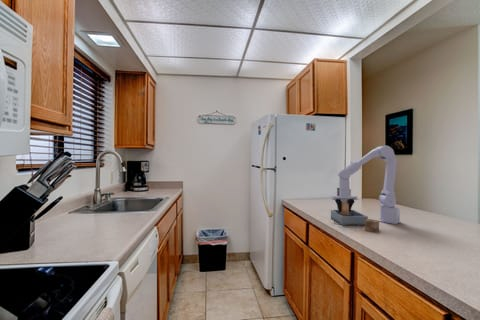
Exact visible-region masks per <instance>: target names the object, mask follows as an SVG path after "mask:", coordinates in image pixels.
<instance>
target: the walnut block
mask: <svg viewBox="0 0 480 320" xmlns="http://www.w3.org/2000/svg"><path fill="white" fill-rule="evenodd" d="M364 231H367V232H372V233H377V232H379V231H380V221H378V220H376V219H372V218H371V219H370V218H368V220H365V226H364Z"/></svg>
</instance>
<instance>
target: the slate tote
mask: <svg viewBox="0 0 480 320" xmlns="http://www.w3.org/2000/svg"><path fill="white" fill-rule="evenodd" d="M330 218H331V219H332V220H333V221H335V222H336V223H338V224H339V225H340V226H343V227H346V226H347V227H349V226H351V227H352V226H353V227H354V226H355V227H356V226H360V227H362V226H363V227H365V220H368V219H369V217H368V216H367V215H365V214H363V213H361V212H360V211H357V210H354V209H351V212H349V216H342V215H340V212H339V210H337V209H330Z"/></svg>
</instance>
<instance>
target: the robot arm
mask: <svg viewBox="0 0 480 320" xmlns="http://www.w3.org/2000/svg"><path fill="white" fill-rule="evenodd" d="M374 158H380V159H382V160H383V161H384V162H386V165H385V171H384V172H385V173H384V178H383V180H384V181H383V188H382V190H381V192H380V195H379V196H378V201H379V202H380V205H379V207H380V210H379V211H380V212H379V213H380V214H379V215H380V216H379V217H380V219H378V220H377V221H379V223H380V222H381V223H388V224H393V225H398V223H400V222H401V214H400V213H401V210H400V207H397V206H396V205H397V199H396V193H395V182H396V174H397V165H398V158H397V156H396V154H395V151H394V149H393V148H392V147H391V146H389V145H382V146H381V145H380V146H377V147H376V148H373V149H372V150H370V151H369V152H367V154H365V155H363V157H361V158H360V159H359V160H357V161H356V160H353V161H350V163H349V164H348V165H347V166H343V168H342V169H340V170H339V171H338V174H337V175H338V177H339V182H338V184H339V187H338V188H339V196H337V195H331V200H333V201H335V203H336V205H337V206H338V209H339V212H341V204H342V201H341V200H347V202H348V203H349V212H351V210H352V208H353V205H354V204H355V201H357V200H358V196H357V195H351V196H350V189H351V187H350V178H351V176H352V175H354V174H355V173H356V172H358V171H359V170H361V169H362V166H363V165H364V164H366V163H368V162H369V161H371V160H372V159H374ZM342 198H345V199H342Z"/></svg>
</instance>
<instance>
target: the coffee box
mask: <svg viewBox="0 0 480 320" xmlns="http://www.w3.org/2000/svg"><path fill="white" fill-rule="evenodd" d="M351 190H352V189H351V188H350V196H352V194H351V193H352V191H351ZM336 196H339V187H337V188H336ZM342 199H345V198H342ZM341 201H342V203H348V202H347V200H341ZM336 210H339V209H338V206H337V207H336Z"/></svg>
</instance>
